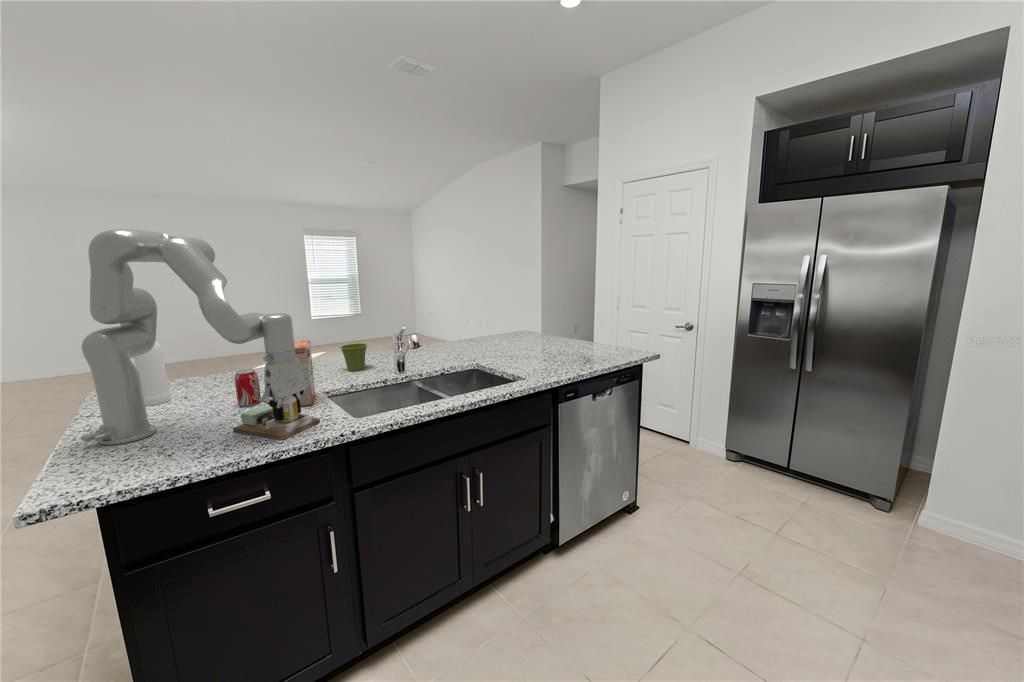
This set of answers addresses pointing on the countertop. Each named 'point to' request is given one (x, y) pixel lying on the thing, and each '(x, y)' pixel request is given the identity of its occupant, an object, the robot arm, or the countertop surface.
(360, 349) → the plant pot
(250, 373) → the soda can
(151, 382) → the bottle
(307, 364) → the cracker box
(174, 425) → the countertop surface
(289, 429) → the board
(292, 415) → the supplement bottle
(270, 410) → the block
